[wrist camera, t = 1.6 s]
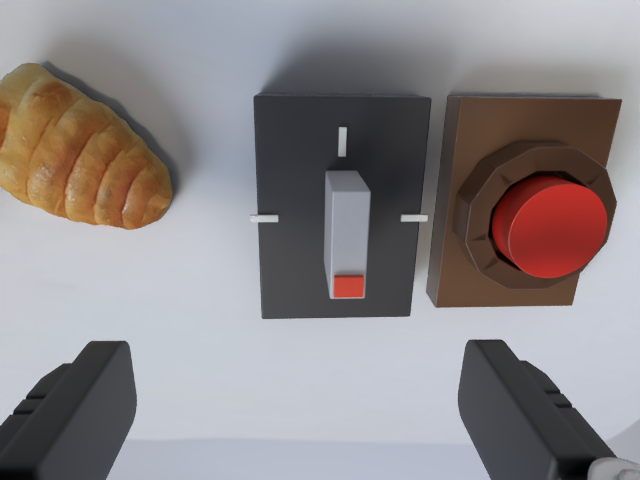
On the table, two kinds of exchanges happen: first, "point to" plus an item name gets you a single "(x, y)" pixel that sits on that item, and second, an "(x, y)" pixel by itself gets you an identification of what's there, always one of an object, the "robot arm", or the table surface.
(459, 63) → the table surface
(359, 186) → the grey block red tab
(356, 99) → the panel
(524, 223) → the button
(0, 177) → the pastry
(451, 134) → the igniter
